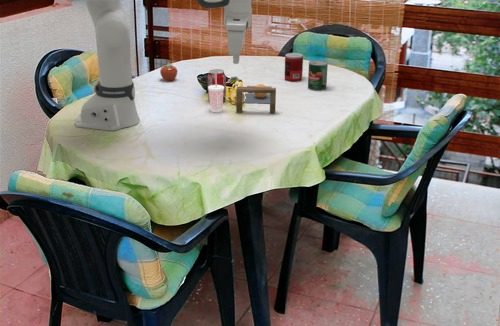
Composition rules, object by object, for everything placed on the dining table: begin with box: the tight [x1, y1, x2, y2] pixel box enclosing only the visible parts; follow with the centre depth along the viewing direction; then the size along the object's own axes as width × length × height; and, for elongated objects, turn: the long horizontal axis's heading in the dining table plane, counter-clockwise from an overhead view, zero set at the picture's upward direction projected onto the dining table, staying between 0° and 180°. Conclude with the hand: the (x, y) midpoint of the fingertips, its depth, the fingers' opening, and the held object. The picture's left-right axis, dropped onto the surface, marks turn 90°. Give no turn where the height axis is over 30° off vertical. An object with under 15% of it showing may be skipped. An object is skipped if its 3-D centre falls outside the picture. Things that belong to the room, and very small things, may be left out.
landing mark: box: [243, 92, 270, 105], centre depth 247 cm, size 12×12×1 cm
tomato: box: [159, 62, 178, 82], centre depth 269 cm, size 7×7×8 cm
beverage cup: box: [207, 74, 224, 113], centre depth 231 cm, size 6×6×14 cm
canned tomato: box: [307, 59, 329, 92], centre depth 259 cm, size 8×8×11 cm
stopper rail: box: [246, 85, 273, 88], centre depth 254 cm, size 10×2×2 cm, turn 86°
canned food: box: [284, 52, 304, 83], centre depth 271 cm, size 8×8×11 cm
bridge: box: [235, 86, 277, 115], centre depth 231 cm, size 3×14×9 cm, turn 86°
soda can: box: [207, 68, 227, 102], centre depth 242 cm, size 7×7×12 cm
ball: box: [253, 84, 268, 98], centre depth 247 cm, size 6×6×6 cm
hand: (236, 62), depth 203 cm, fingers closed
